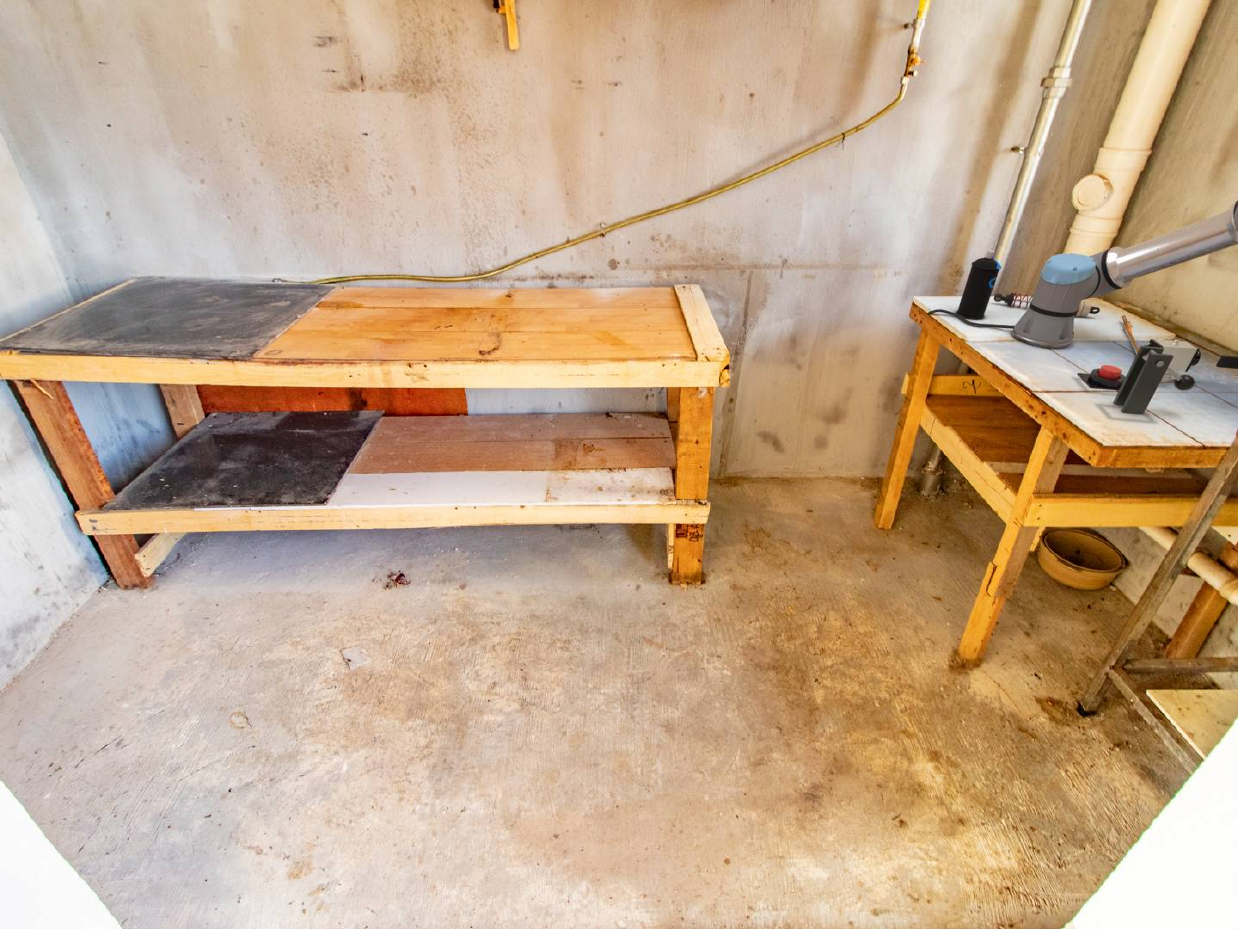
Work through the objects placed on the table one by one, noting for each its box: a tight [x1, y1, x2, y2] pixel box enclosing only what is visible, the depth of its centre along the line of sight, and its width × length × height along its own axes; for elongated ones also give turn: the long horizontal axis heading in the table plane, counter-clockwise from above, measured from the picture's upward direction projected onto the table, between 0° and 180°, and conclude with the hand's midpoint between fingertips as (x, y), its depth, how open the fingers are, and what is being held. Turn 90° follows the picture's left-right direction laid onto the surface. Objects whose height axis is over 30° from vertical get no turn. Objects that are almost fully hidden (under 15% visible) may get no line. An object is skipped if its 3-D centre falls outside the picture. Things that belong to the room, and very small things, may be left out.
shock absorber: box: [993, 292, 1101, 318], centre depth 209 cm, size 5×5×30 cm
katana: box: [1121, 315, 1140, 356], centre depth 190 cm, size 1×35×3 cm, turn 154°
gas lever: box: [1142, 349, 1196, 392], centre depth 146 cm, size 13×4×4 cm, turn 81°
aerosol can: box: [955, 249, 1002, 321], centre depth 201 cm, size 8×8×20 cm
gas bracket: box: [1112, 345, 1174, 416], centre depth 149 cm, size 9×7×16 cm
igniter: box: [1098, 364, 1123, 379], centre depth 162 cm, size 4×4×2 cm
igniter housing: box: [1076, 367, 1126, 392], centre depth 163 cm, size 10×8×4 cm
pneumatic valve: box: [1143, 338, 1202, 383], centre depth 164 cm, size 6×12×12 cm, turn 82°
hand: (1237, 373), depth 144 cm, fingers open, 13 cm apart
